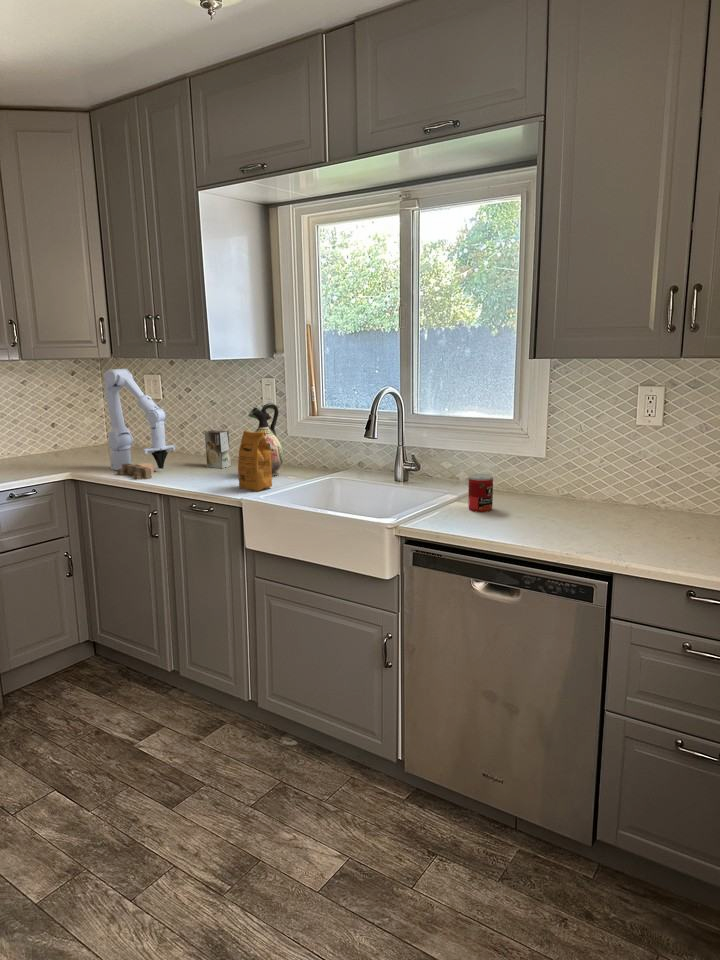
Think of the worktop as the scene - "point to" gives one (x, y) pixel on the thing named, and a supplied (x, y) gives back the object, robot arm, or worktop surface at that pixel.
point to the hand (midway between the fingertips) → (160, 468)
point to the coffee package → (254, 462)
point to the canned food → (480, 492)
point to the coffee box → (217, 448)
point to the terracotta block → (146, 466)
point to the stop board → (135, 471)
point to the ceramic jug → (269, 434)
